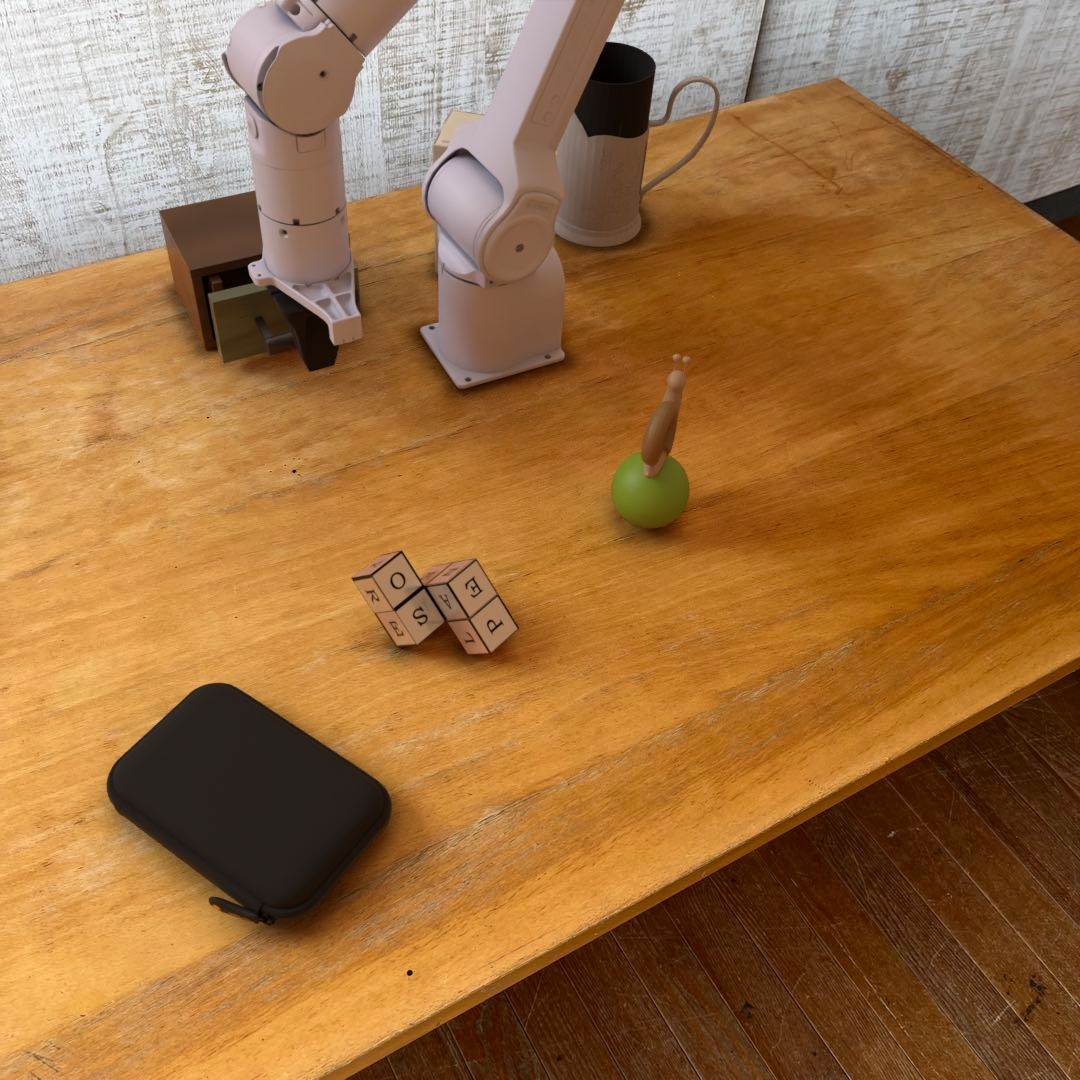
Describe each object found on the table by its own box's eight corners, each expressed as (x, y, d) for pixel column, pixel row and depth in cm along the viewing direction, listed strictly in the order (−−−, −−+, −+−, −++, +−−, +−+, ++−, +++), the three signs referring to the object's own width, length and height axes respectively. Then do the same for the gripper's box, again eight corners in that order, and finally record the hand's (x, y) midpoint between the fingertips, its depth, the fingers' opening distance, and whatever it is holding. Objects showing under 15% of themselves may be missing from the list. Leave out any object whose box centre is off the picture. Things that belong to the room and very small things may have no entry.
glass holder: (542, 193, 110) (552, 37, 99) (688, 192, 112) (715, 38, 101) (552, 247, 105) (565, 88, 94) (707, 245, 106) (738, 88, 95)
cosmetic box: (482, 282, 101) (485, 154, 92) (432, 274, 101) (430, 145, 92) (498, 242, 105) (503, 115, 96) (450, 234, 105) (450, 107, 96)
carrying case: (80, 815, 65) (279, 965, 61) (67, 788, 63) (273, 941, 58) (217, 687, 72) (407, 814, 67) (209, 658, 69) (406, 787, 64)
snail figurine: (694, 491, 85) (723, 363, 76) (672, 553, 81) (700, 425, 72) (623, 471, 86) (643, 343, 77) (597, 531, 82) (616, 402, 73)
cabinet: (355, 312, 97) (349, 233, 91) (205, 350, 93) (189, 270, 87) (319, 256, 102) (311, 178, 96) (175, 290, 98) (158, 210, 92)
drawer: (381, 358, 92) (378, 297, 88) (239, 396, 88) (229, 334, 84) (329, 276, 99) (324, 216, 94) (195, 308, 95) (183, 247, 90)
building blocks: (474, 632, 78) (411, 531, 76) (519, 628, 74) (453, 522, 72) (418, 680, 75) (351, 578, 73) (461, 679, 71) (391, 570, 69)
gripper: (208, 158, 79) (235, 320, 89) (279, 276, 71) (301, 440, 81) (307, 138, 82) (323, 298, 92) (388, 250, 73) (395, 412, 83)
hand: (319, 363), depth 86 cm, fingers closed
